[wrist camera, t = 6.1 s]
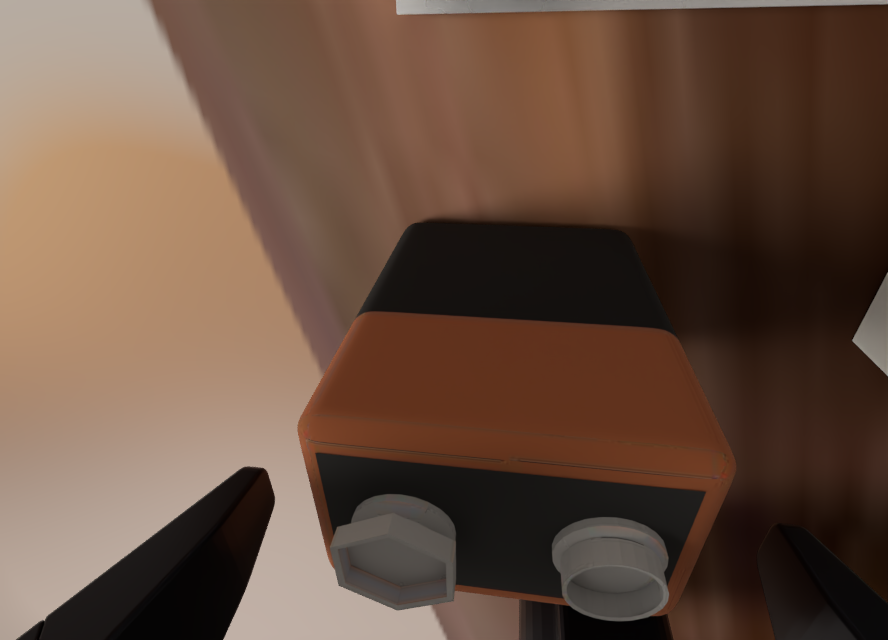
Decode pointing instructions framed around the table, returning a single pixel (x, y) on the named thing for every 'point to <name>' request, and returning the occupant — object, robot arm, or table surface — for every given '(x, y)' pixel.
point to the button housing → (876, 329)
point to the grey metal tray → (597, 5)
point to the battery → (514, 428)
